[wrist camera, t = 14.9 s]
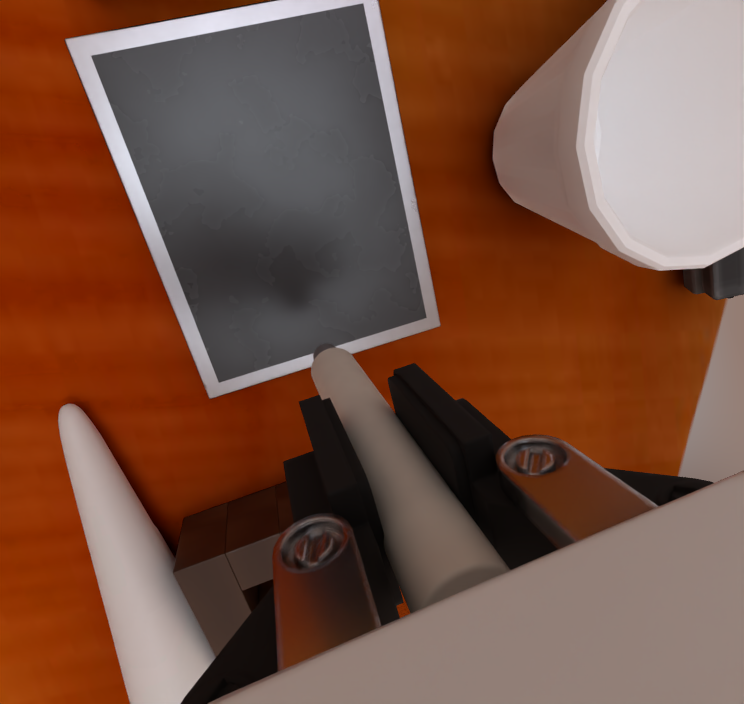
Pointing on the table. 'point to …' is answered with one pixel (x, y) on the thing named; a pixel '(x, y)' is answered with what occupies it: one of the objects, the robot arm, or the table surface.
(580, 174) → the cup
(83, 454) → the long cone
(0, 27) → the table surface
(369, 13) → the tablet
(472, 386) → the table surface
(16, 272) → the table surface
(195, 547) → the holder
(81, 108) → the table surface
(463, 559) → the beige round peg
